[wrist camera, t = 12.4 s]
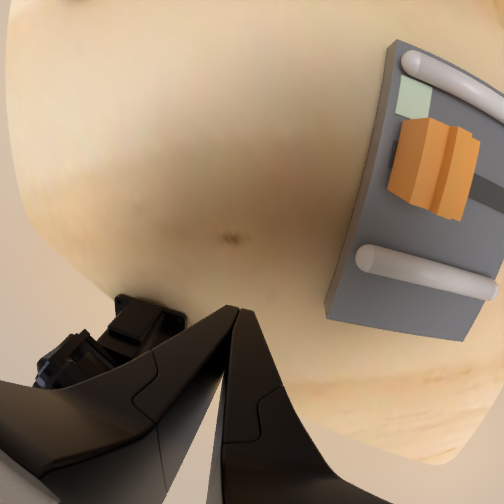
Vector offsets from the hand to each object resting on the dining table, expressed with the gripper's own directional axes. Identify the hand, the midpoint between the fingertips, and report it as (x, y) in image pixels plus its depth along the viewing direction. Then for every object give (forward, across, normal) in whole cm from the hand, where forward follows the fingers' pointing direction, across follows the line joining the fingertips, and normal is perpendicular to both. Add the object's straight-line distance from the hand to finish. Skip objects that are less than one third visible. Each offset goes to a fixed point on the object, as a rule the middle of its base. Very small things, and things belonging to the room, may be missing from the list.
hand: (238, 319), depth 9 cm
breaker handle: (+9, -7, -6) cm, 13 cm away
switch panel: (+11, -11, -4) cm, 16 cm away
